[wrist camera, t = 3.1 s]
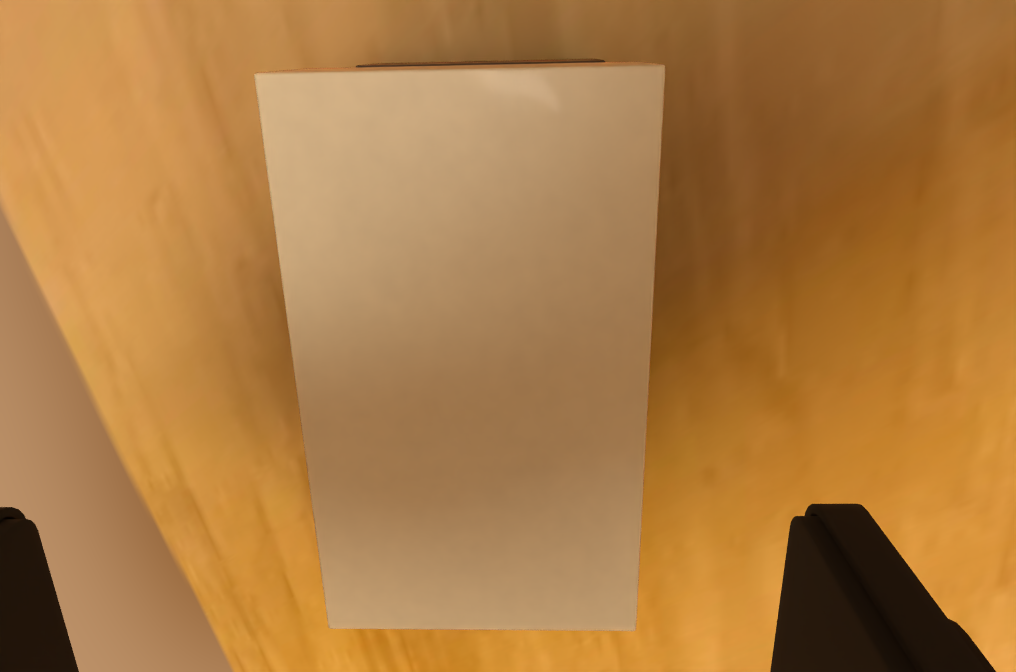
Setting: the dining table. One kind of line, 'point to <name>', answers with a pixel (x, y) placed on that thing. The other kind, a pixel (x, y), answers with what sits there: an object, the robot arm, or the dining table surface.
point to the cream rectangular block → (470, 333)
